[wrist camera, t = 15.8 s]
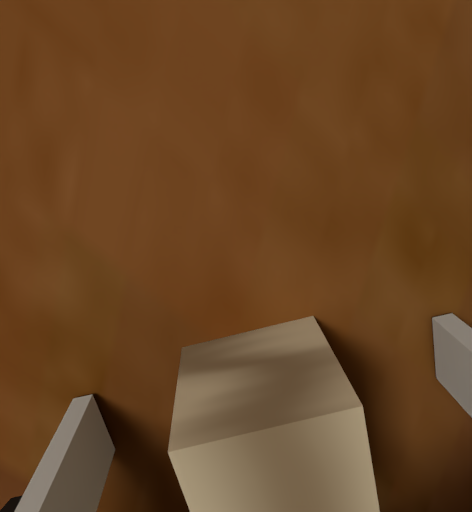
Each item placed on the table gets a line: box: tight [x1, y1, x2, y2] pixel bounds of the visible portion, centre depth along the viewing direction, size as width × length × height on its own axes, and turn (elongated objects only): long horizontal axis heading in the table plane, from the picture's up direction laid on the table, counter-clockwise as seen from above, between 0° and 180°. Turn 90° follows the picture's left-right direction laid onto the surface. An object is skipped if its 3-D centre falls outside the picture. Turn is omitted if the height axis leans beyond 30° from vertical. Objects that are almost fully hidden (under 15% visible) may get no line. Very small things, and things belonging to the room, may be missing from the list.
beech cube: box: [168, 316, 380, 512], centre depth 13 cm, size 5×5×5 cm
